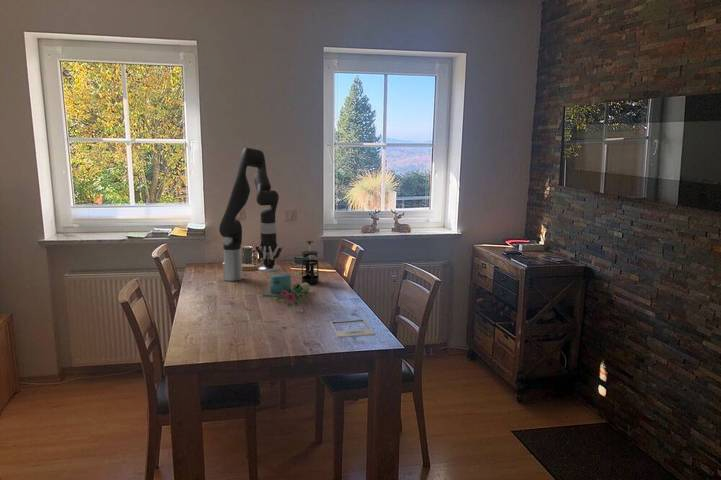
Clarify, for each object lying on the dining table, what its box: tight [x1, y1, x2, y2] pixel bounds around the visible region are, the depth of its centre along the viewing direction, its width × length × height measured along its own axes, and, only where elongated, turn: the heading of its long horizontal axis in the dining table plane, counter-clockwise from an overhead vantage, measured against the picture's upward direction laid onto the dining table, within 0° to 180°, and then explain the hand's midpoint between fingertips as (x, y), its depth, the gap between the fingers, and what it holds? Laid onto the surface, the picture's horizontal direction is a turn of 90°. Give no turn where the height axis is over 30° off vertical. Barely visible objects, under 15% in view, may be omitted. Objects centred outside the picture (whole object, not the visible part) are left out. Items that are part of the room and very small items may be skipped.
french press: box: [300, 240, 320, 286], centre depth 291 cm, size 12×9×23 cm
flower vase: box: [274, 282, 311, 307], centre depth 259 cm, size 12×12×35 cm
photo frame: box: [329, 318, 375, 339], centre depth 222 cm, size 15×1×18 cm
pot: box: [262, 273, 296, 298], centre depth 273 cm, size 14×14×9 cm
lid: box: [257, 257, 282, 273], centre depth 267 cm, size 11×11×5 cm
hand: (269, 266), depth 267 cm, fingers closed on lid, 2 cm apart
